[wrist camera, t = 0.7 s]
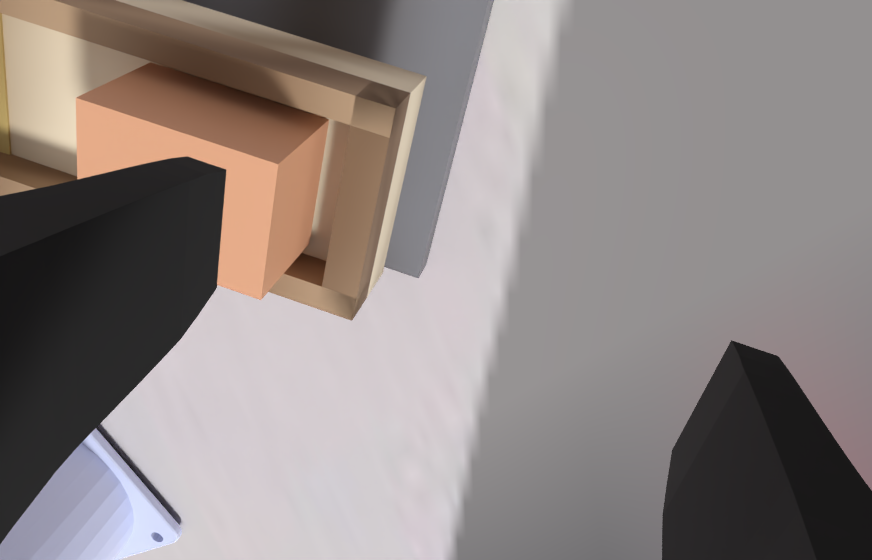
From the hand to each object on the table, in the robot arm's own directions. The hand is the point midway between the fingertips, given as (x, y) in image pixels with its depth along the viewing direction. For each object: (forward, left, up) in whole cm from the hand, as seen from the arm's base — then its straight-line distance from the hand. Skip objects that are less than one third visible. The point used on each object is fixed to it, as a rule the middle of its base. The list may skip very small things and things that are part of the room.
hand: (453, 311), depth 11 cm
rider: (-6, +3, -6) cm, 8 cm away
